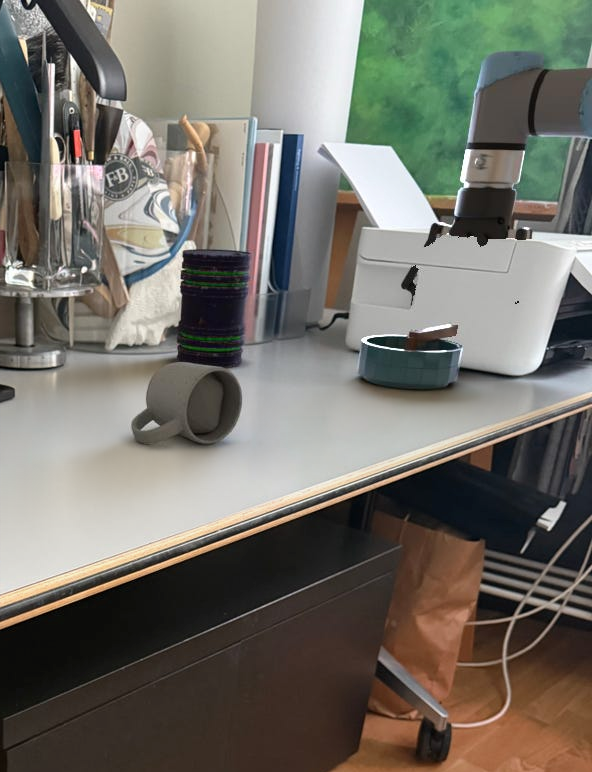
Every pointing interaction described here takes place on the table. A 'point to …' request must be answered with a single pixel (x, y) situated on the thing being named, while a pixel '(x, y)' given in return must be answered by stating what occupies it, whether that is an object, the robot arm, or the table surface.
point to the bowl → (409, 362)
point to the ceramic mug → (190, 404)
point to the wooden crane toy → (429, 335)
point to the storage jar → (213, 307)
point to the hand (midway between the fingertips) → (458, 348)
